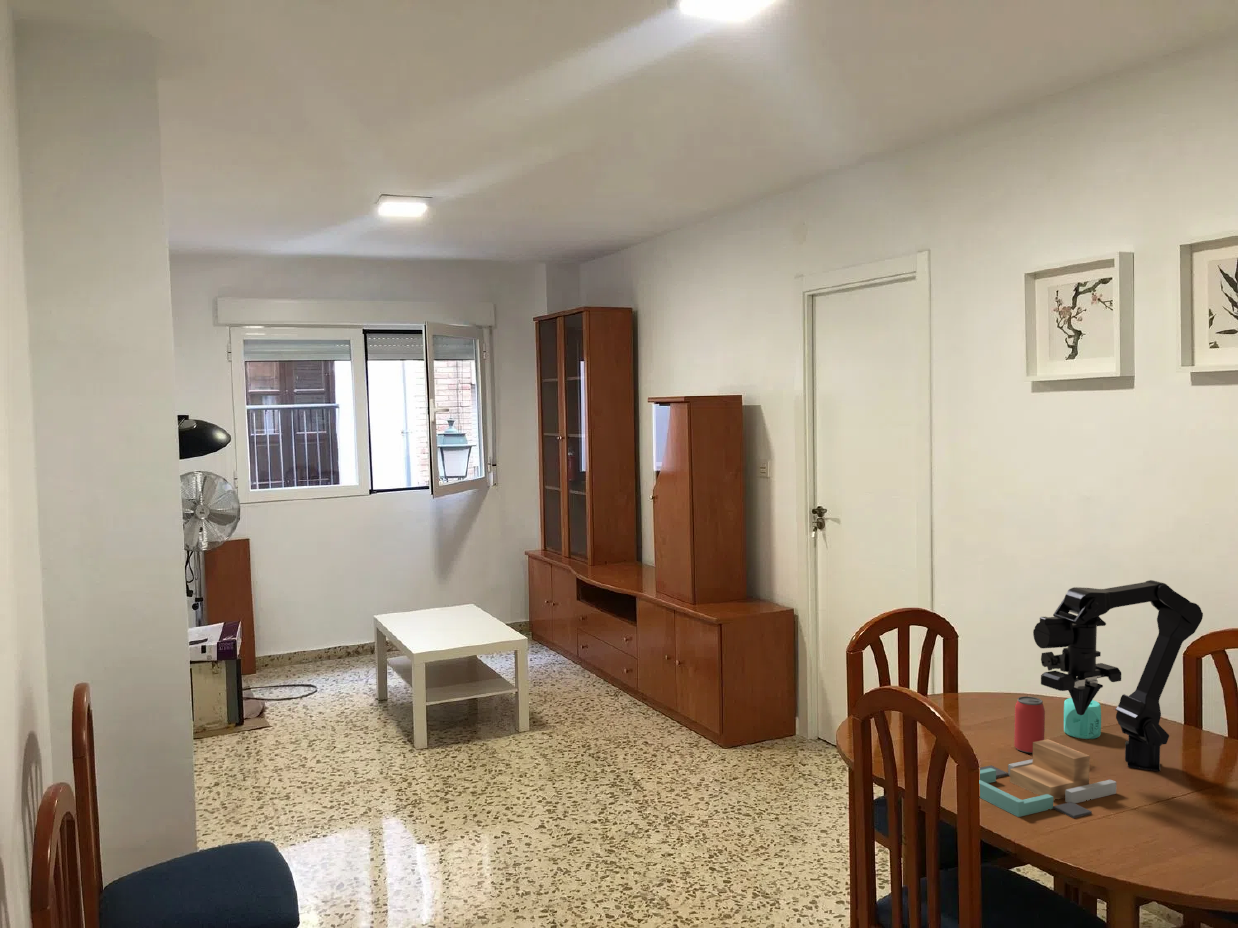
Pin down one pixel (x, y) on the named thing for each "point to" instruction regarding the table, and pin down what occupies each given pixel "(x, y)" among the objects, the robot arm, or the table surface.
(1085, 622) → the robot arm
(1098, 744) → the table surface
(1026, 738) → the beer can
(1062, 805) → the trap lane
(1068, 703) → the decorative dice
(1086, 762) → the step block
